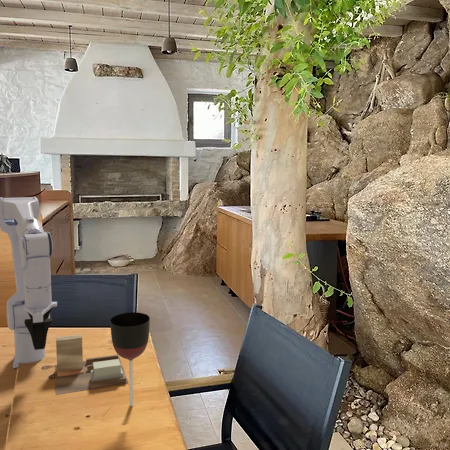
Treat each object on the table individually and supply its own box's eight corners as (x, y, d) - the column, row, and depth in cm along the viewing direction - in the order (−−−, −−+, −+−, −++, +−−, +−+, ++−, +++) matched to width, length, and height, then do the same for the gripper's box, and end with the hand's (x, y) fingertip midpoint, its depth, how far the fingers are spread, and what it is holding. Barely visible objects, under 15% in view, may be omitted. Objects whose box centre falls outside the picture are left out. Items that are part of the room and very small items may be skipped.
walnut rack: (55, 368, 115) (54, 360, 114) (118, 359, 120) (118, 351, 120) (55, 398, 100) (55, 389, 100) (128, 387, 106) (128, 378, 105)
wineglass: (152, 399, 101) (152, 312, 98) (147, 420, 92) (146, 326, 89) (116, 399, 100) (115, 312, 98) (108, 421, 92) (106, 326, 89)
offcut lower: (91, 378, 108) (90, 370, 107) (120, 373, 110) (120, 366, 110) (92, 386, 104) (92, 377, 104) (123, 381, 106) (123, 373, 106)
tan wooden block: (57, 368, 112) (55, 337, 111) (82, 364, 114) (81, 334, 113) (57, 372, 110) (56, 340, 109) (82, 368, 112) (82, 337, 111)
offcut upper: (93, 370, 107) (92, 362, 107) (118, 366, 110) (118, 358, 109) (94, 377, 104) (94, 368, 104) (120, 373, 106) (120, 365, 106)
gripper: (56, 292, 98) (59, 352, 100) (56, 277, 111) (57, 330, 113) (21, 295, 95) (24, 356, 97) (24, 279, 109) (27, 333, 110)
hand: (40, 342), depth 105 cm, fingers open, 7 cm apart
